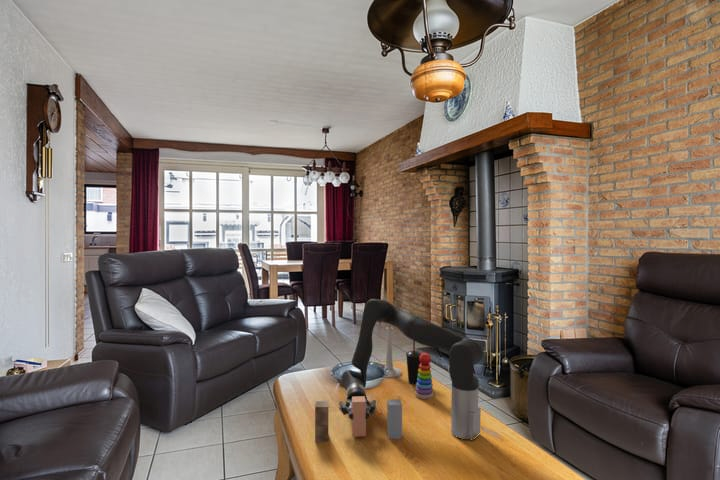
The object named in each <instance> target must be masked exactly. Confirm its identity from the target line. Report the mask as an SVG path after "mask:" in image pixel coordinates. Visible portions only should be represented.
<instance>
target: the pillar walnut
mask: <svg viewBox="0 0 720 480" xmlns="http://www.w3.org/2000/svg"><path fill="white" fill-rule="evenodd" d="M314 403H315V405H314V411H315V412H314V431H315V432H314V442H315V443H317V442H319V443H320V442H329V401H328V400H320V401H318V400H317V401H315V402H314Z"/></svg>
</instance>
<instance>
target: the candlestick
mask: <svg viewBox="0 0 720 480" xmlns="http://www.w3.org/2000/svg"><path fill="white" fill-rule="evenodd" d="M385 329H386V332H387V335H386V351H385V352H386V353H385V354H386V355H385V366H384V367H385V368H387V369H389V370H390V374H389V375H388V376H387V377H386V378H385V379H395V378H399V377H402V375H403V372H402V370H401V369H400V368H398V367H395V366H394V365H393V363H394V362H393V346H392V345H393V344H392V333H393V329H394V327H392V325H391V324H389V323H387V326H386V327H385Z"/></svg>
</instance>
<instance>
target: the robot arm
mask: <svg viewBox="0 0 720 480" xmlns="http://www.w3.org/2000/svg"><path fill="white" fill-rule="evenodd" d="M377 322H382V323H389V324H391V326H394V327H395V328H397V329H398V330H399V331H400V332H401V333H402V334H403V335H404V336H405V337H407V338H408V339H409V340H412V341H413V340H414V341H415V343H418V344H419V345H423V346H426V347H431V348H437V349H442V350H445V351H448V352H449V354H448V366H449V378H450V380H451V408H450V409H451V414H450V416H451V417H450V418H451V424H450V425H451V426H450V427H451V428H450V430H451V432H452V433H451V434H452V435H453V436H454V435H455V436H457V437H459V438H463V439H472V440H473V439H474V438H475V437H476V436H477V435H478V434H479V433H480V434H481V414H482V413H481V408H480V407H479V385H480V382H479V379H478V377H476V376H475V373H474V366H475V365H477V364H478V363H480V362H481V361H482V360H483V358H484V350H483V347H482V346H481V344H479V342H477V341H476V340H474V339H472V338H469V337H466V336H463V335H461V334H459V333H455V332H452V331H450V330H448V329H445V328H443V327H441V326H439V325H437V324H435V323H433V322H431V321H429V320H427V319H424V318H423V317H421V316H418V315H415V314H413V313H411V312H408V311H404V310H402V309H400V308H399V307H398V306H395V305H394V304H392V303H391V302H390V301H387V300H384V299H377V298H370V299H369V300H367V302H366V303H365V304H364V308H363V312H362V317H361V324H360V329H359V333H358V335H359V336H358V339H357V344H356V346H355V350H354V353H353V356H352V359H351V365H352V366H353V367H354V368H356V369H358V370H359V372H358V371H356V370H353V369H352V370H351V369H347V370H344V372H343V373H342V375H341V378H340V379H341V384H342V387H343V389H345V391H346V401H345V402H344V401H341V400H340V401H339V402H338V407H339V411H340V412H341V413H342V414H343V415H344V416H345V415H348V419H350V420H351V421H352V420H353V411H352V397H356V396H365V401H366V420H368V418H370V414H371V415H373V414H374V413H375V410H376V407H377V400H375V399H373V400H371V401H369V399H368V398H367V394H366V393H367V392H366V389H365V387H366V386H367V372H368V365H369V363H370V359H371V357H372V353H373V333H374V327H375V326H376V323H377ZM455 436H454V437H455ZM457 437H456V438H457ZM459 438H458V439H459ZM463 439H462V440H463ZM473 441H474V440H473Z"/></svg>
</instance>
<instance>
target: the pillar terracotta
mask: <svg viewBox="0 0 720 480" xmlns="http://www.w3.org/2000/svg"><path fill="white" fill-rule="evenodd" d="M352 411H353V420H351V428H352V429H351V430H352V431H351V432H352V437H366V435H367V423H366V422H367V419H366V401H365V396H356V397H352Z"/></svg>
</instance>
